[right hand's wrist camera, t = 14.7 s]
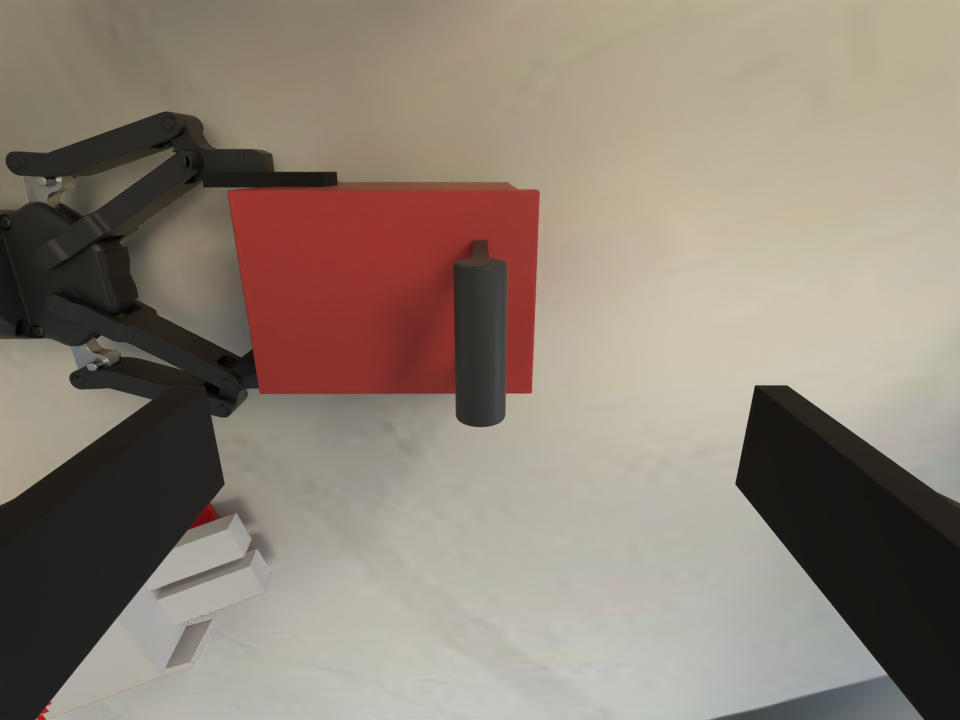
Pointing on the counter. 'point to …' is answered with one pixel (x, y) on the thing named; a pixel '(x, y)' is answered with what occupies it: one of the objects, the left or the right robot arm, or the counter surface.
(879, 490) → the right robot arm
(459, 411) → the lid
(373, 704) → the counter surface
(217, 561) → the toy
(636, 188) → the counter surface
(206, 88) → the counter surface
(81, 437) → the counter surface
